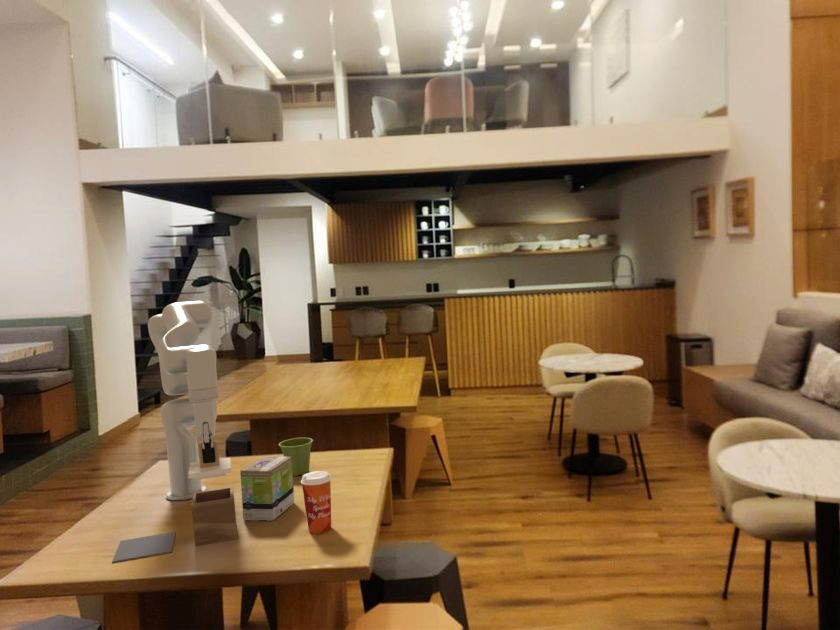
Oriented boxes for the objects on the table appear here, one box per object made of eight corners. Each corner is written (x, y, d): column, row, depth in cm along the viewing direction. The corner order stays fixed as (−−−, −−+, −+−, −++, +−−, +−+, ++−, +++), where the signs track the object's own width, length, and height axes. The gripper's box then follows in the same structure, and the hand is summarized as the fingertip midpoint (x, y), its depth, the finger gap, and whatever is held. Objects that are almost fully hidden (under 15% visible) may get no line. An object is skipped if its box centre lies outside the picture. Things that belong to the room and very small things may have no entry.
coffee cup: (310, 538, 171) (305, 481, 170) (300, 528, 178) (296, 474, 177) (340, 530, 174) (335, 475, 174) (329, 521, 182) (325, 468, 181)
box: (196, 531, 181) (193, 492, 180) (236, 524, 184) (233, 486, 183) (195, 546, 171) (191, 504, 170) (237, 538, 174) (233, 498, 173)
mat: (120, 542, 177) (120, 540, 177) (175, 533, 181) (175, 531, 181) (112, 563, 163) (112, 561, 163) (171, 552, 167) (171, 551, 167)
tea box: (275, 521, 185) (270, 470, 184) (242, 521, 187) (238, 470, 186) (295, 502, 199) (291, 455, 198) (265, 502, 201) (261, 455, 200)
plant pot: (288, 468, 236) (285, 438, 236) (319, 467, 235) (317, 437, 234) (276, 479, 225) (273, 446, 224) (309, 478, 223) (306, 445, 222)
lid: (191, 470, 180) (188, 441, 180) (230, 465, 183) (228, 436, 183) (189, 482, 170) (186, 451, 169) (231, 476, 173) (228, 445, 172)
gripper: (190, 390, 182) (196, 455, 183) (187, 401, 166) (193, 471, 168) (218, 387, 184) (224, 451, 185) (218, 397, 168) (223, 467, 170)
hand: (209, 460), depth 176 cm, fingers closed on lid
